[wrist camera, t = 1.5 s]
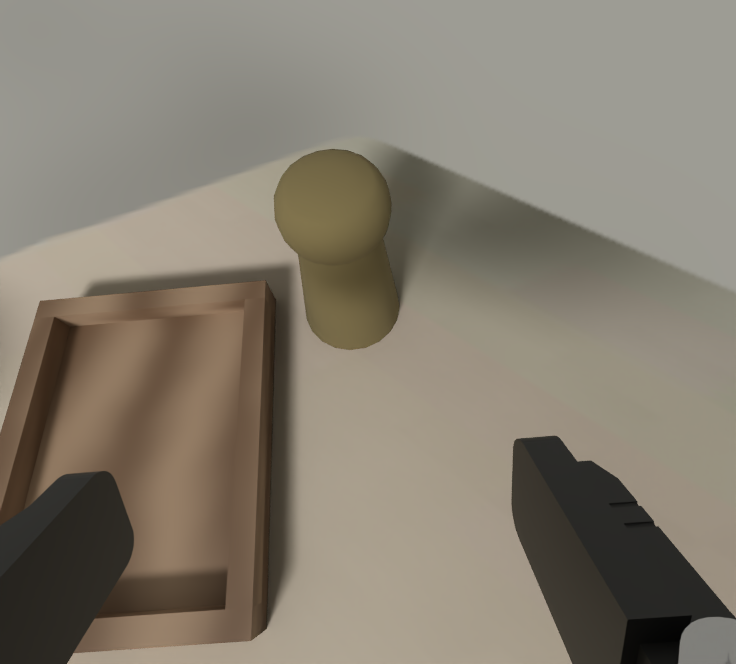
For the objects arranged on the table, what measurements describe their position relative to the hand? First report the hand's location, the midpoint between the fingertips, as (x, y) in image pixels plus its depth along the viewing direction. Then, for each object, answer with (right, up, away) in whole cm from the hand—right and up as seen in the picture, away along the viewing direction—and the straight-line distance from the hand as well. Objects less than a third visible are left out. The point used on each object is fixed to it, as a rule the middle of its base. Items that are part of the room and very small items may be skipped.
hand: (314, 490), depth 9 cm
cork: (0, +5, +19) cm, 20 cm away
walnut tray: (-11, -3, +16) cm, 20 cm away
